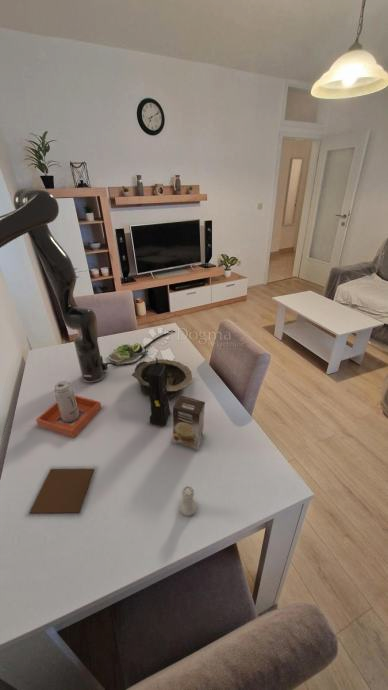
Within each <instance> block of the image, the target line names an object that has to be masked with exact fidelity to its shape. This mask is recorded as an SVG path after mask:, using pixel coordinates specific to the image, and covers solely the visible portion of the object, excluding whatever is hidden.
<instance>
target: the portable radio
mask: <svg viewBox="0 0 388 690" xmlns="http://www.w3.org/2000/svg"><path fill="white" fill-rule="evenodd" d="M155 360H156V364H151V366H150V368H149V369H148V371H147V372H146V381H148V382H149V390H150V395H149V400H150V402H149V403H150V410H151V411H150V416H149V424H150V425H153V426H157V427H165V426H166V425H167V423H168V421H169V418H170V416H171V409H170V400H169V399H170V398H168V393H167V387H166V386H167V376H166V367H165V365H163V364H158V362H157V360H159V358H157V357H156V358H155Z"/></svg>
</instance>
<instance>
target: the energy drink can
mask: <svg viewBox="0 0 388 690" xmlns="http://www.w3.org/2000/svg"><path fill="white" fill-rule="evenodd" d="M53 394H54V397H55V400H56V402H57V404H58V407H59V410H60V414H61V419H62V420H63V422H64V421H65V422H66V423H71V422H75V420H76V421H77V420H78V419H79V418H78V417H79V415H80V412H79V411H78V407H77V403H76V399H75V395H76V394H75V391H74V388H73V384H71V382H69V381H67V380H64V381H59V382H57V383H56V384H55V385H54V390H53Z"/></svg>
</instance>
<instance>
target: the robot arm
mask: <svg viewBox="0 0 388 690" xmlns="http://www.w3.org/2000/svg"><path fill="white" fill-rule="evenodd" d="M13 205H14V210H11V211H10V212H8V213H6V214H3V215H0V249H1V248H3V247H4V246H7V244H9V243H11V242H12V241H14V240H17V239H18V238H19V237H21V236H23V235H25V234H28V236H29V238H30V239H31V242H32V244H33V246H34V249H35V250H36V251H35V252H36V253H37V255H38V257H39V259H40V261H41V264H42V267H43V269H44V272H45V274H46V276H47V279H48V281H49V283H50V285H51V287H52V289H53V292H54V294H55V297H56V300H57V302H58V306H59V309H60V312H61V316H62V319H63V321H64V324H65V325H66V327H67V328H68V329H70V330H74V331H79V332H81V334H79V335H77V336H76V337H75V338H74V340H73V343H74V347H75V352H76V357H77V360H78V365H79V369H80V374H81V380H82V381H83V382H84V383H86V384H93V383H98V382H100V381H102V380H103V379H104V377H105V374H106V371H107V370H108V369H109V367H108V366H109V365H111V366H117V365H116V362H104V359H103V356H102V354H101V352H100V347H99V340H98V338H99V329H98V321H97V315H96V313H95V311H94V310H93V309H91V308H84V307H79V306H78V305H77V303H76V300H75V297H74V291H75V288H76V284H77V273H76V270H75V268H74V264H73V262H72V260H71V258H70V256H69V254H68V253H67V252H66V251H65V250H64V248H63V247H62V245H60V244H59V242H58V241H57V240H56V239H55V237H54V235H53V234H52V232H51V230H50V228H49V224H50V223H53V222H54V221H56V219H57V218H58V216H59V213H60V206H59V202H58V201H57V199H56V197H55V196H54V195H53V194H52V193H51V192H49V191H47V190H44V189H38V188H37V189H36V188H19V189H17V190H16V191H15V193H14V195H13ZM173 330H174V329H171V330H169V331H168V332H169V333H167V332H165V333H166V334H165V333H163V334H161V335H158V336H157V337H155V338H154V339H152V340H151V341H149V343H147V344H146V345H144V346H143V348H144V349H145V350H146V348H147V347H148V346H150V345H151V344H152V343H153V342H155V341H157V340H158V339H160V338H162V337H164V336H167V335H168V334H170V333H176V331H175V330H174V331H173ZM171 331H172V332H171ZM131 357H132V356H131Z"/></svg>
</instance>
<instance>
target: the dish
mask: <svg viewBox="0 0 388 690" xmlns="http://www.w3.org/2000/svg"><path fill="white" fill-rule="evenodd" d="M74 395H75V399H76V403H77V407H78V411H79V413H82V415H81V416H80V417H79V418H77V419H76V421H74V423H73V424H69V423H67V422H66V423H65V422H62V421H59V420H60V419H62V417H61V414H60V410H59V407H58V404H57V401H56V402H54V403H53V404H52V405H51V406H50V407H49V408H48V409H46V410H45V411H44V412H43V413H42V414H40V416H38V417H37V418H36V419H35V422H36V424H37V427H38V428H42V429H45V430H46V431H47V430H48V431H51V432H54V433H57V434H60V435H63V436H66V437H68V438H69V437H70V438H72V439H75V438H76V437H77V436H78V434H80V432H81V431H82V430H83V429H84V428H85V426H87V425H88V424H89V422H90V421H92V419H93V418H95V416H96V415H97V414H98V413H99V412H100V411H101V410H102V406H101V402H100V401H98V400H95V399H91V398H87V397H83V396H79V395H76V394H74Z"/></svg>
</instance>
